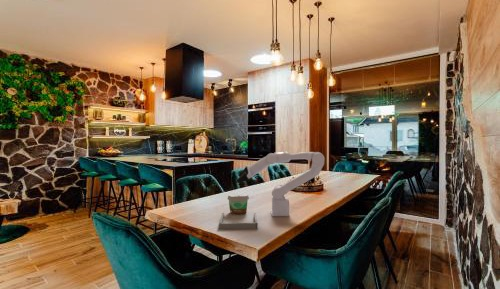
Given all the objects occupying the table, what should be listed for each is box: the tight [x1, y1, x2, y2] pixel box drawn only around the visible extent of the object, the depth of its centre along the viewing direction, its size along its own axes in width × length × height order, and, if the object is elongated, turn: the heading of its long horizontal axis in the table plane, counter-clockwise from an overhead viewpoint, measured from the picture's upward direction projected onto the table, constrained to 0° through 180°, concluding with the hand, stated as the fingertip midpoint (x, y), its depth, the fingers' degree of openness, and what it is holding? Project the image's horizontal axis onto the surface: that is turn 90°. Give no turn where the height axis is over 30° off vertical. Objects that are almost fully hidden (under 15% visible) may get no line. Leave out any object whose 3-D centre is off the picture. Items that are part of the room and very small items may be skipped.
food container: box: [227, 195, 250, 216], centre depth 144 cm, size 12×6×10 cm, turn 101°
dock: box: [218, 212, 259, 230], centre depth 128 cm, size 18×17×2 cm
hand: (238, 179), depth 147 cm, fingers open, 7 cm apart
